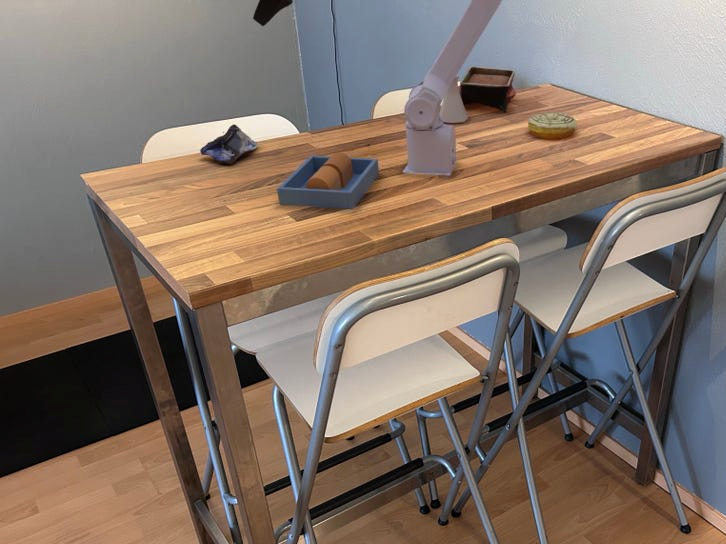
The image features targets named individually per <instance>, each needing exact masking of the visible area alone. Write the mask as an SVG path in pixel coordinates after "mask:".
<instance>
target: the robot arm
mask: <svg viewBox="0 0 726 544" xmlns="http://www.w3.org/2000/svg"><path fill="white" fill-rule="evenodd" d="M293 2H294V0H258V3H257V5H256V8H255V10H254V13H253V15H252V19H253V20H254V22H256V23H258V24H259V25H260V26H261V27H265V26H266V25H267V24H268V23H269V22H270V21H271V20H272V19H273V18H274V17H275V16H276V15H277V14H278V13H279V12H280V11H282V10H283V9H285V8H287V7H289V6H291V5H292V4H293ZM502 2H503V0H470V1H469V4H468V5H467V6H466V9H465V10H464V12H463V13H462V15H461V17H460V18H459V19H458V22H457V23H456V25H455V27H454V28H453V30H452V32H451V34H450V35H449V37H448V39H447V40H446V42H445V44H444V46H443V47H442V48H441V50H440V52H439V54H438V56H437V57H436V59H435V60H434V63H433V64H432V65H431V67H430V69H429V70H428V72H427V73H426V75H425V76H424V78H423V79H422V81H420V82H419V83H417V84H415V85H414V86H413V87H412V89H411V90H410V91H409V95H408V99H407V101H406V102H405V104H404V107H403V108H404V109H403V110H404V111H403V113H404V117H405V119H406V121H405V123H404V124H405V134H406V135H405V136H406V151H407V152H406V154H407V165H406V166H405V168H404V169H403V171H402V173H404V174H419V175H421V174H422V175H438V176H446V177H447V178H448V177H450V176H451V175H452V173H453V171H454V170H455V168H456V166H457V163H458V161H457V146H456V145H457V143H456V139H457V138H456V129H455V126H454V125H449V124H446V123H444V122H443V120H442V119H441V117H440V116H439V111H440V108H441V106H442V103H443V99H444V97H445V95H446V92H447V90H448V88H449V86H450V85H451V83H452V82H453V80H454V78H455V77H456V75H457V74H458V73H459V72H460V70H461V69H462V67H463V65H464V63H465V62H466V60H467V59H468V57H469V56H470V54H471V53H472V51H473V49H474V47H475V46H476V44H477V43H478V41H479V39H480V38H481V36H482V34H483V33H484V31H485V29H486V28H487V26H488V25H489V23H490V22H491V20H492V19H493V16H494V15H495V13H496V12H497V10H498V8H499V7H500V5H501V4H502Z"/></svg>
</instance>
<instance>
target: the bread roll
mask: <svg viewBox="0 0 726 544" xmlns="http://www.w3.org/2000/svg"><path fill="white" fill-rule="evenodd" d="M306 189H323V190H340V191H341V190H342V189H341V181H340V175H339V173H338V172H337V170H336V169H334V168H333V167H330V166H323V167H321V168H320V169H319V170H318V171H317V172H316V173H315V174H314V175H313V176H312V177H311V178H310V179H309V180H308V182H307V184H306Z"/></svg>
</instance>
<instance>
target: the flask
mask: <svg viewBox="0 0 726 544" xmlns="http://www.w3.org/2000/svg"><path fill="white" fill-rule="evenodd" d="M459 79H460V75H459V74H458V73H457V75H456V77H455V78H454V80H453V82H452V83H451V85H450V86H449V88H448V90H447V92H446V95H445V97H444V99H443V100H442V102H441V105H440V108H439V111H438V114H439V116H440V117H441V119H442V120H443V123H448V124H457V123H465V122H466V121H467V120H469V117H468V113H467V110H466V108H465V106H464V105H463V102H462V99H461V96H460V93H459V88H458V86H459Z"/></svg>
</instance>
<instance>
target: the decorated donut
mask: <svg viewBox="0 0 726 544" xmlns="http://www.w3.org/2000/svg"><path fill="white" fill-rule="evenodd" d="M527 121H528V122H527V126H528V127H527V128H528V130H529V131H530V133H531V134H532V135H534V136H536V137H537V138H541V139H546V140H550V139H557V140H559V139H565V138H566V137H568V136H570V135H571V134H573V133H574V132H575V131H577V130H578V122H577V120H576V118H575V117H573V116H572V115H569V114H567V113H564V112H543V113H537V114H534V115H531V116H530V117H529V118H528V120H527Z"/></svg>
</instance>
